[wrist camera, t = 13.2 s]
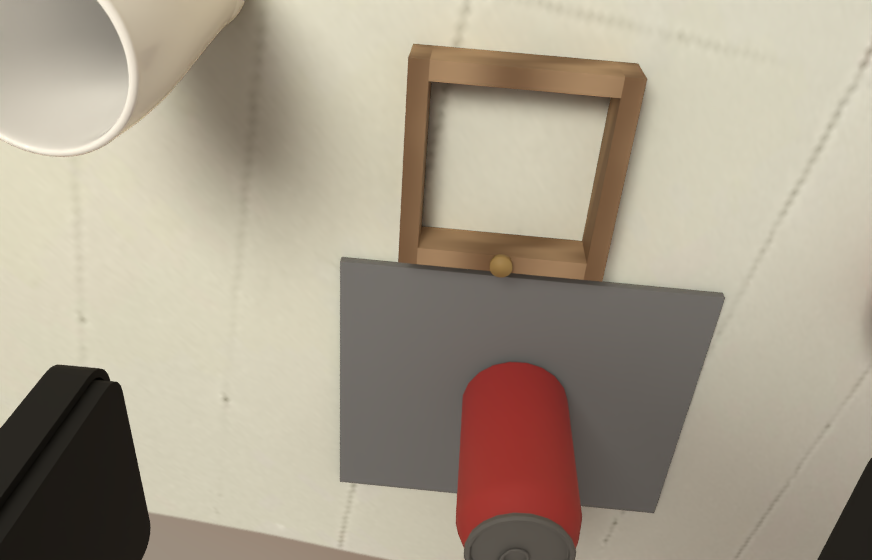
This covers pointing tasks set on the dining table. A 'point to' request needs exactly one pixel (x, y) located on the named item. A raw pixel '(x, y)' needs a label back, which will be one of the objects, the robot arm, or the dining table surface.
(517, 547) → the beer can
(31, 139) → the drinking glass
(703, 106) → the dining table surface
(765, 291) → the dining table surface
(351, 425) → the mat
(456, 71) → the frame
